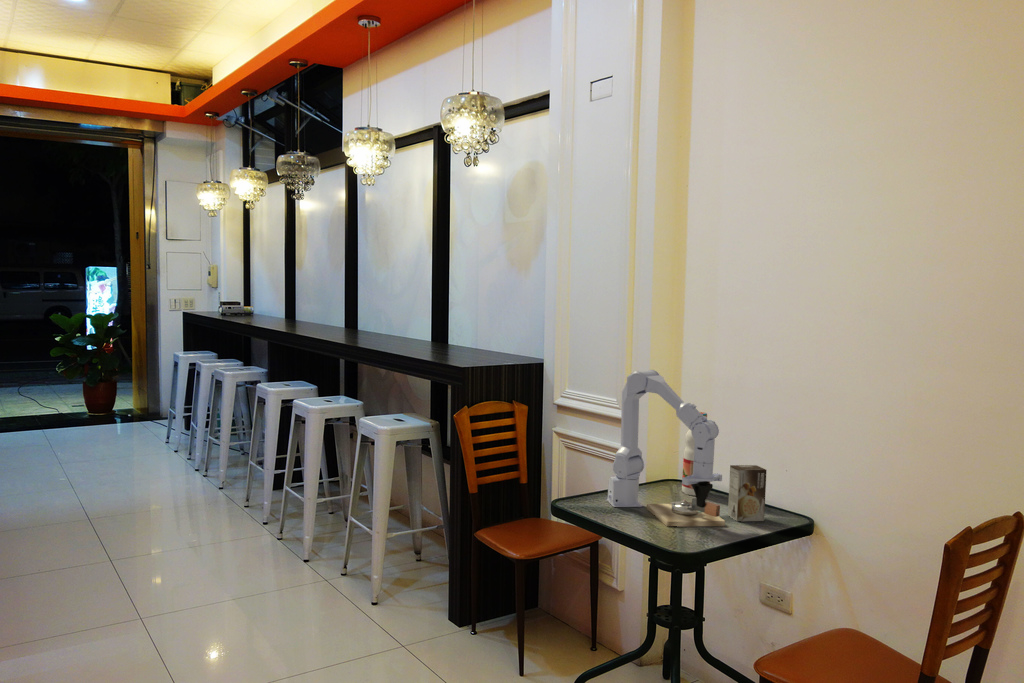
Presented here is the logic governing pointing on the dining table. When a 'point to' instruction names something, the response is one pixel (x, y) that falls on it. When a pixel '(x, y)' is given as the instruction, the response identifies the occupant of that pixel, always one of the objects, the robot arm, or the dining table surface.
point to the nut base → (683, 517)
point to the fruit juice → (689, 460)
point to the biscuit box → (747, 493)
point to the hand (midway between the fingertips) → (700, 506)
